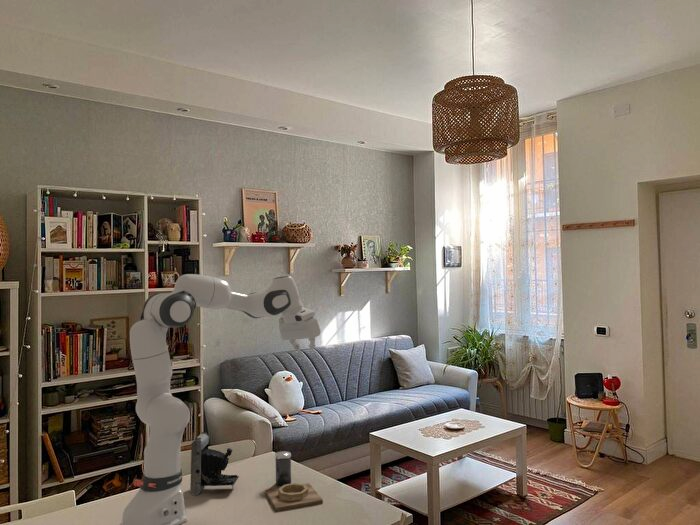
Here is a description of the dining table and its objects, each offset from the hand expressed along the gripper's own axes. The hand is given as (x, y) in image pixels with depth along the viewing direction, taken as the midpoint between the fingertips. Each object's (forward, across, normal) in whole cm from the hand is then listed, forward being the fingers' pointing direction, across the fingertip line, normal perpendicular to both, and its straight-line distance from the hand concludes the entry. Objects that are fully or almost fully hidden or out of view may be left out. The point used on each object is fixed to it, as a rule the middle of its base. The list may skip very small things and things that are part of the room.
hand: (305, 348), depth 209 cm
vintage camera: (+36, -18, -44) cm, 60 cm away
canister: (+43, -4, -26) cm, 50 cm away
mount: (+42, +8, -32) cm, 53 cm away
